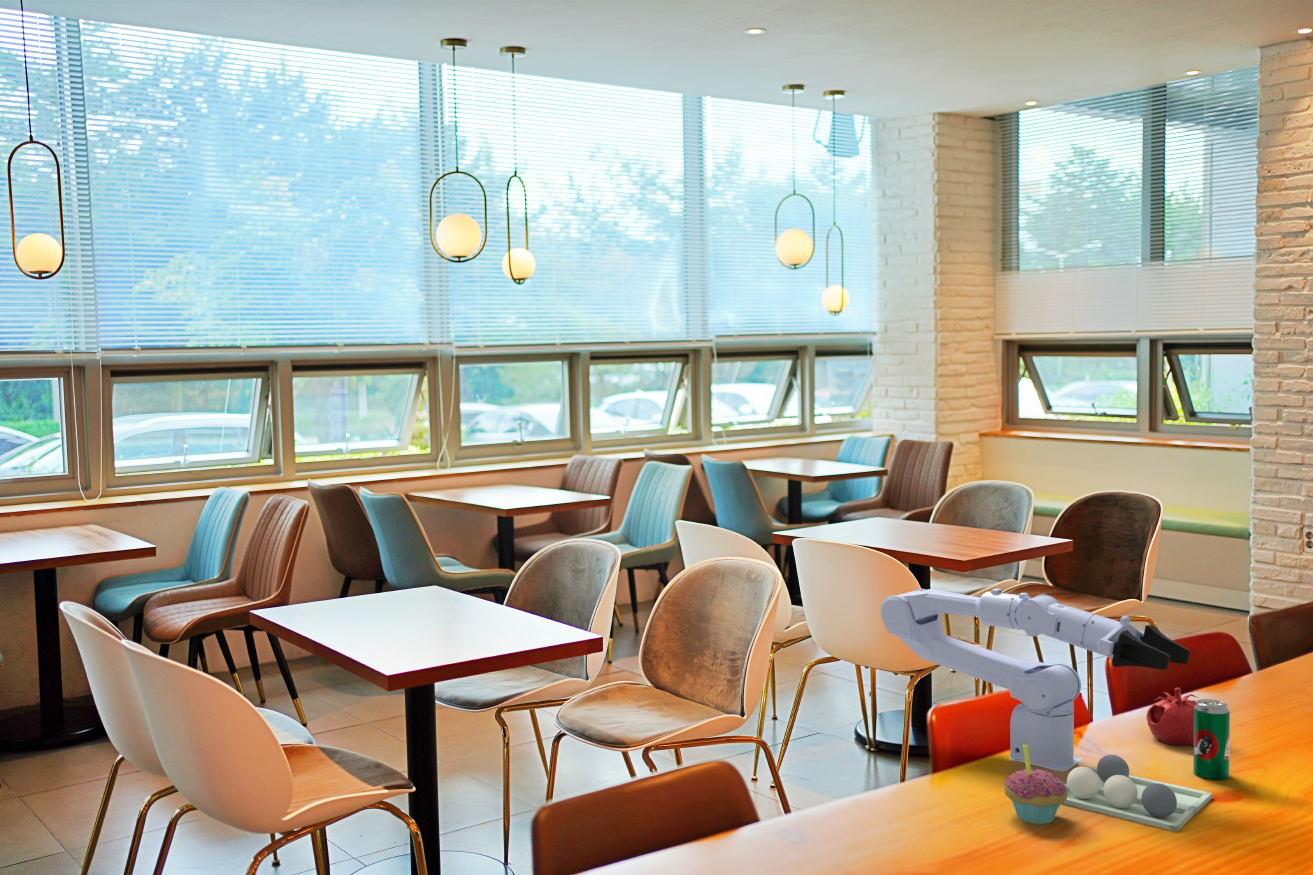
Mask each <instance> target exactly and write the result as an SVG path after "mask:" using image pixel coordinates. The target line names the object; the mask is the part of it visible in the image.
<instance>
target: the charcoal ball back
mask: <svg viewBox="0 0 1313 875" xmlns="http://www.w3.org/2000/svg"><path fill="white" fill-rule="evenodd" d="M1129 767H1130V766H1129V765H1128V763H1127V762H1126V761H1125V759H1124V758H1122V757H1121V756H1118V755H1116V754H1106V755H1104V756H1102V757H1101V758H1100V759H1099V761H1098V763H1097V766H1096V768H1097V773H1098V776H1099V777H1100V779H1101V780H1102V781H1103V782H1104V783H1105V782H1106V780H1107V779H1108V778H1110V777H1111V776H1114V775H1123V776H1126V777H1129V775H1130V768H1129Z"/></svg>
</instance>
